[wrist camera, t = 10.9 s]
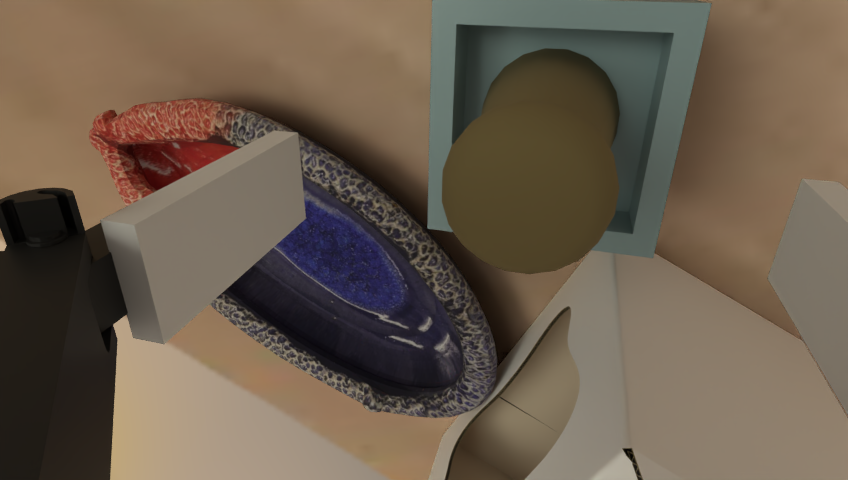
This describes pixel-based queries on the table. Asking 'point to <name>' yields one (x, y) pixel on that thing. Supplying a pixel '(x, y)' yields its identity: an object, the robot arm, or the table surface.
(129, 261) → the robot arm
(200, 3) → the table surface
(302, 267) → the dish
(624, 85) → the open box
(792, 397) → the gable box
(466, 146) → the olive brown hourglass shape
